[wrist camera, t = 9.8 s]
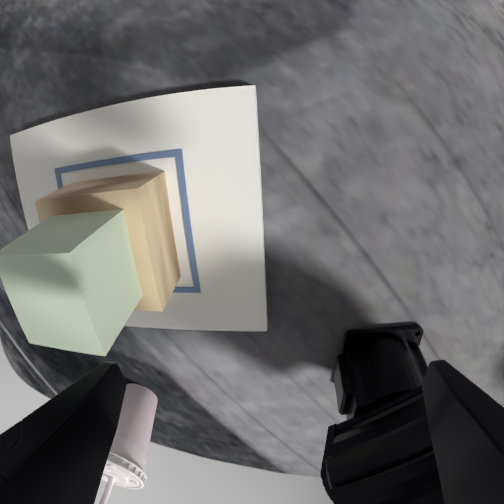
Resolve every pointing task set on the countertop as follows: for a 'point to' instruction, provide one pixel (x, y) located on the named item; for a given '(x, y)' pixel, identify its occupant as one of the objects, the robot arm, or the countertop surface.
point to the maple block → (130, 225)
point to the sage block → (73, 280)
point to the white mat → (173, 192)
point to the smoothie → (130, 441)
